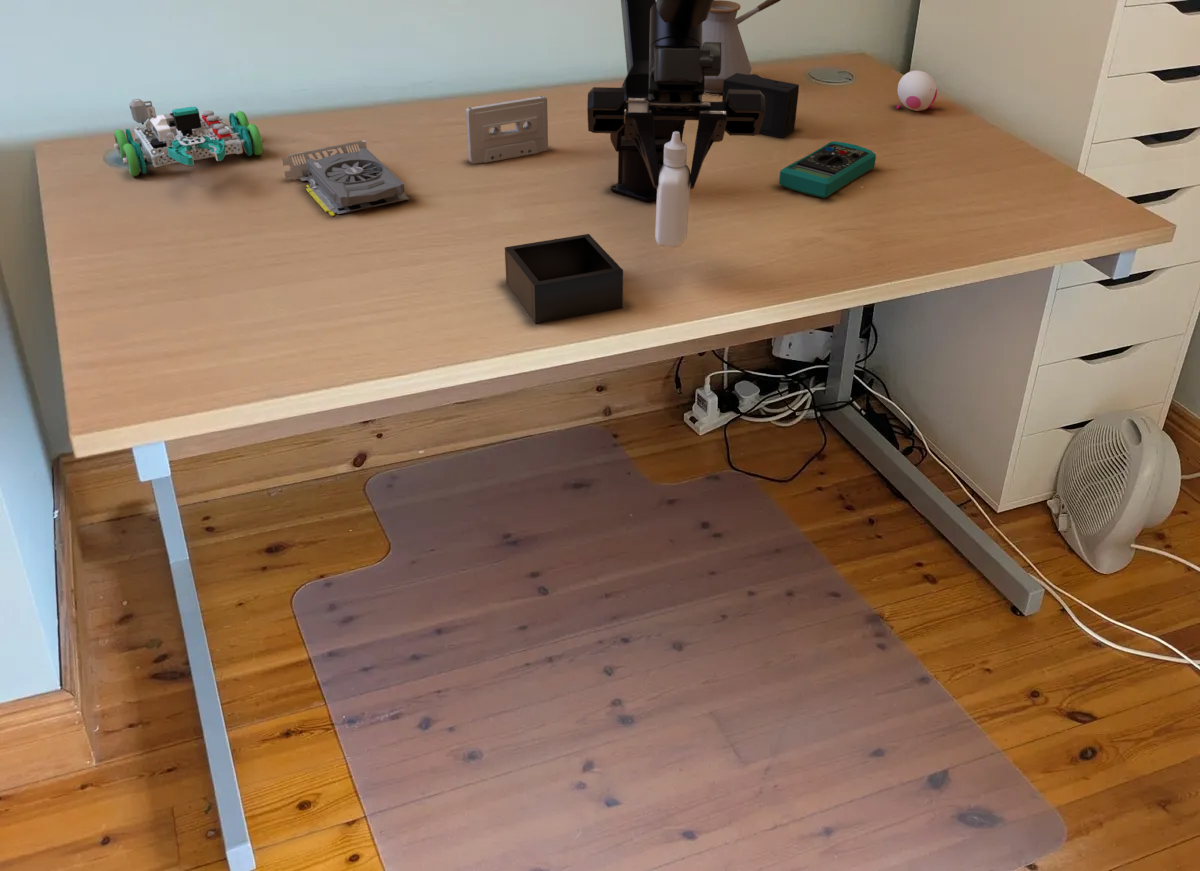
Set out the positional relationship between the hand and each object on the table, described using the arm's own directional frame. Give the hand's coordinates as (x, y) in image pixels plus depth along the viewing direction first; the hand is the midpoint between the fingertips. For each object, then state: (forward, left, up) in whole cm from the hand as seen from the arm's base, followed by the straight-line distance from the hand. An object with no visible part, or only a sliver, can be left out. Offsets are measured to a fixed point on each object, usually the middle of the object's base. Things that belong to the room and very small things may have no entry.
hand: (674, 186), depth 120 cm
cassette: (-41, +19, -12) cm, 47 cm away
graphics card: (-49, -4, -12) cm, 51 cm away
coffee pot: (-34, +69, -12) cm, 78 cm away
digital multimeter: (-2, +40, -12) cm, 42 cm away
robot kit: (-71, -11, -12) cm, 73 cm away
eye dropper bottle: (-1, +1, -7) cm, 7 cm away
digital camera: (-20, +52, -12) cm, 57 cm away
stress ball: (-5, +75, -12) cm, 76 cm away
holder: (-8, -9, -12) cm, 17 cm away
